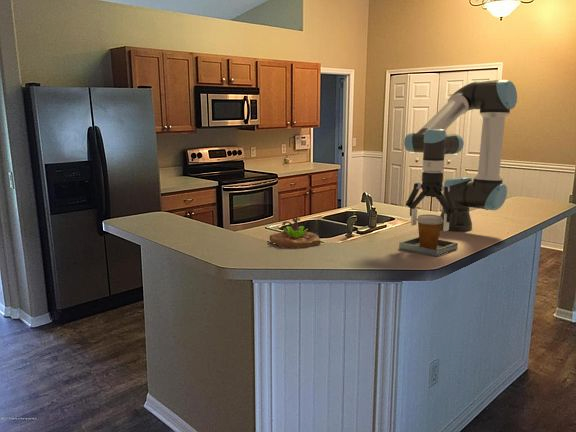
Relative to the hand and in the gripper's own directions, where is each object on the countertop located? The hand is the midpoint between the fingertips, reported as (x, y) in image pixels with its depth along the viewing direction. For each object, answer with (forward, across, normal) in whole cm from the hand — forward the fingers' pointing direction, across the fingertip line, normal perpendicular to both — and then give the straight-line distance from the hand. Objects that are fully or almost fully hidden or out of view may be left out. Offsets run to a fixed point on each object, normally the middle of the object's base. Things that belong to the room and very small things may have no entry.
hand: (429, 227), depth 182 cm
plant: (+9, -43, -29) cm, 52 cm away
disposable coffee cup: (+8, 0, 0) cm, 8 cm away
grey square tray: (+8, 0, 0) cm, 8 cm away
